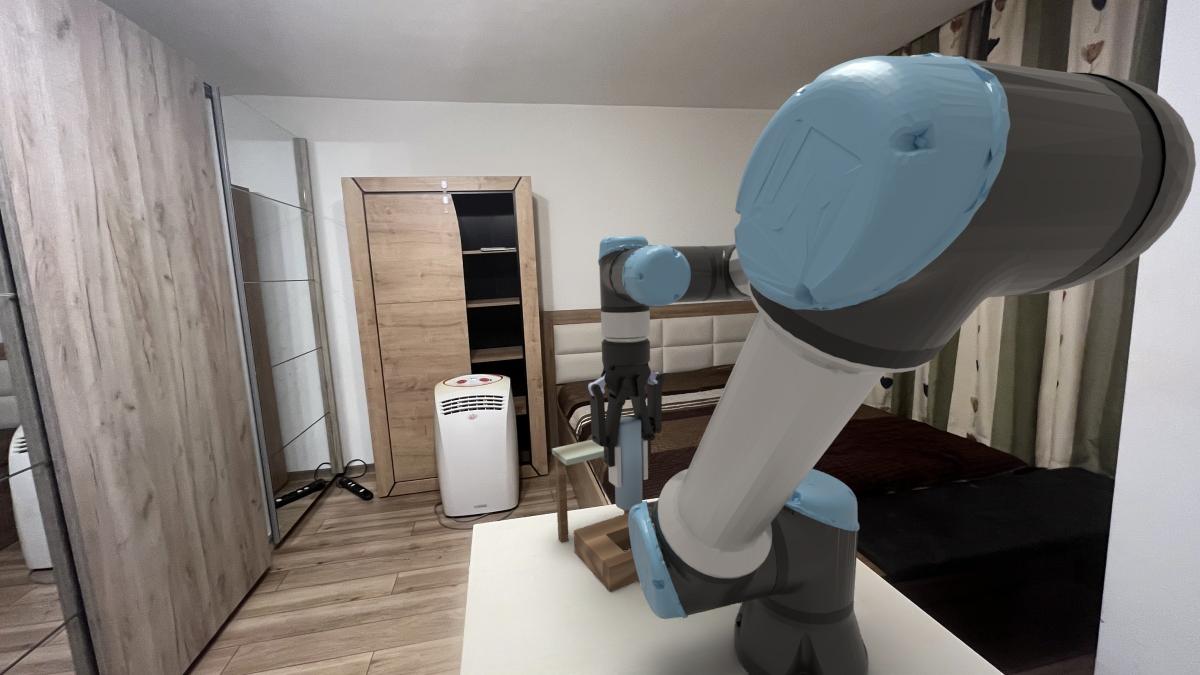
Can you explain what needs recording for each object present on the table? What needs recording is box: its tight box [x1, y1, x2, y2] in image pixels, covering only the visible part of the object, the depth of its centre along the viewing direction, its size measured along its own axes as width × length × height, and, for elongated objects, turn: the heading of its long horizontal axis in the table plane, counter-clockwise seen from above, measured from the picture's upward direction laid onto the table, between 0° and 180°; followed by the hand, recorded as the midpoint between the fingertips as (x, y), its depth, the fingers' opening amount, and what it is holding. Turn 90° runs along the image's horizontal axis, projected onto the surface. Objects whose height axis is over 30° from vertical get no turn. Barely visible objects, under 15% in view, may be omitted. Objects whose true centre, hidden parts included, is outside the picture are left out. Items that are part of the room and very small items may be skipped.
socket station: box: [551, 439, 639, 593], centre depth 80 cm, size 18×16×17 cm
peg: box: [614, 416, 643, 511], centre depth 76 cm, size 4×4×14 cm
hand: (628, 479), depth 77 cm, fingers closed on peg, 4 cm apart
